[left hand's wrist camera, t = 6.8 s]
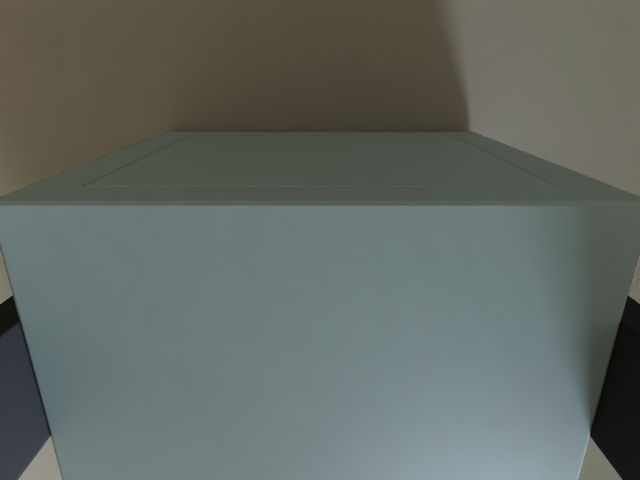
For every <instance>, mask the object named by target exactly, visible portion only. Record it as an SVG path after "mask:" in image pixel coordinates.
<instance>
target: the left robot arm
mask: <svg viewBox="0 0 640 480" xmlns="http://www.w3.org/2000/svg"><path fill="white" fill-rule="evenodd" d="M50 436H51V434H50V431H49V427H48V423H47V419H46V416H45V412H44V408H43V405H42V401H41V397H40V393H39V390H38V386H37V382H36V379H35V375H34V371H33V367H32V364H31V360H30V356H29V353H28V349H27V345H26V341H25V338H24V334H23V330H22V326H21V323H20V319H19V315H18V312H17V308H16V304H15V300H14V297H13V296H11V297H10V298H9V299H7V300H6V301H4V302H3V303H2V304H0V480H18V479H19V477H20V476H21V475H22V473H23V472H24V471H25V469H26V468H27V467H28V465H29V464H30V463H31V461H32V460H33V459H34V457H35V456H36V455H37V453H38V452H39V451H40V449H41V448H42V447H43V445H44V444H45V443H46V441H47V440H48V438H49V437H50ZM590 436H591V438H592V439H593V440H594V442H595V443H596V445H597V446H598V447H599V449H600V450H601V451H602V453H603V454H604V455H605V457H606V458H607V459H608V461H609V462H610V463H611V465H612V466H613V467H614V469H615V470H616V471H617V473H618V474H619V475H620V477H621V478H622V479H623V480H640V304H639V303H638V302H636V301H635V300H633V299H632V298H631V297H629V296H627V300H626V304H625V307H624V311H623V315H622V318H621V322H620V326H619V329H618V333H617V337H616V341H615V344H614V348H613V352H612V355H611V359H610V363H609V367H608V370H607V374H606V378H605V381H604V385H603V389H602V392H601V396H600V400H599V404H598V407H597V411H596V415H595V418H594V422H593V426H592V429H591V433H590Z"/></svg>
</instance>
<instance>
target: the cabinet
mask: <svg viewBox="0 0 640 480" xmlns="http://www.w3.org/2000/svg"><path fill="white" fill-rule="evenodd" d="M0 248H1V252H2V256H3V260H4V263H5V267H6V271H7V274H8V278H9V282H10V286H11V289H12V293H13V297H14V300H15V304H16V308H17V312H18V315H19V319H20V323H21V326H22V330H23V334H24V338H25V341H26V345H27V349H28V353H29V356H30V360H31V364H32V367H33V371H34V375H35V379H36V382H37V386H38V390H39V393H40V397H41V401H42V405H43V408H44V412H45V416H46V419H47V423H48V427H49V431H50V434H51V438H52V442H53V446H54V449H55V453H56V457H57V460H58V464H59V468H60V472H61V475H62V479H63V480H578V478H579V474H580V470H581V467H582V463H583V459H584V455H585V452H586V448H587V444H588V441H589V437H590V433H591V429H592V426H593V422H594V418H595V415H596V411H597V407H598V404H599V400H600V396H601V392H602V389H603V385H604V381H605V378H606V374H607V370H608V367H609V363H610V359H611V355H612V352H613V348H614V344H615V341H616V337H617V333H618V329H619V326H620V322H621V318H622V315H623V311H624V307H625V304H626V300H627V296H628V292H629V289H630V285H631V281H632V278H633V274H634V270H635V267H636V263H637V259H638V255H639V252H640V197H639V196H636V195H634V194H631V193H628V192H626V191H623V190H621V189H618V188H615V187H612V186H611V185H608V184H606V183H603V182H600V181H598V180H595V179H593V178H590V177H588V176H585V175H582V174H580V173H577V172H575V171H572V170H570V169H567V168H564V167H562V166H559V165H557V164H554V163H552V162H549V161H546V160H544V159H541V158H539V157H536V156H533V155H531V154H528V153H526V152H523V151H521V150H518V149H515V148H513V147H510V146H508V145H505V144H503V143H500V142H497V141H495V140H492V139H490V138H487V137H484V136H483V135H480V134H477V133H475V132H165V133H163V134H160V135H158V136H155V137H153V138H150V139H148V140H145V141H142V142H140V143H137V144H135V145H132V146H129V147H127V148H124V149H122V150H119V151H117V152H114V153H111V154H109V155H106V156H104V157H101V158H98V159H96V160H93V161H91V162H88V163H86V164H83V165H80V166H78V167H75V168H73V169H70V170H67V171H65V172H62V173H60V174H57V175H55V176H52V177H49V178H47V179H44V180H42V181H39V182H36V183H34V184H31V185H29V186H28V187H25V188H22V189H20V190H17V191H15V192H12V193H10V194H7V195H4V196H2V197H0Z"/></svg>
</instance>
